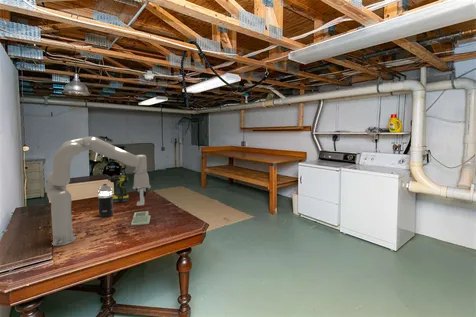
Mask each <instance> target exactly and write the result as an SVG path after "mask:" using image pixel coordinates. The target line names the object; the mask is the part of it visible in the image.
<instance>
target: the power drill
mask: <svg viewBox="0 0 476 317" xmlns="http://www.w3.org/2000/svg"><path fill="white" fill-rule="evenodd" d="M107 180H108V182H109V181H110V183H113V184H114V185H115V187H116V188H119V194H113V204H120V203H124V204H125V203H128V202H129V200H130V197H129V194H127V189H126V187H125V184H127V183H128V182H129V175H125V174H120V175H112V176H110V177H109V178H107Z"/></svg>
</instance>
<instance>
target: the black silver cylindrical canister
mask: <svg viewBox="0 0 476 317" xmlns="http://www.w3.org/2000/svg"><path fill="white" fill-rule="evenodd" d="M113 195H114V193H113V188H112V187H111V186H110V185H108V184H106V183H104V184H101V186H100V187H99V188H98V189H97V200H98V203H97V204H98V216H99V217H101V218H108V217H112V216H113V215H114V203H113Z"/></svg>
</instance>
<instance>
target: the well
mask: <svg viewBox="0 0 476 317" xmlns="http://www.w3.org/2000/svg"><path fill="white" fill-rule="evenodd" d="M150 220H151V215H149V211H148V210H147V211H136V212H135V211H134V214H133V216H132V219H131V223H130V226H140V225H149V224H150Z"/></svg>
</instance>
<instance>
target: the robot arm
mask: <svg viewBox="0 0 476 317" xmlns="http://www.w3.org/2000/svg"><path fill="white" fill-rule="evenodd" d="M89 150H90V151H92V152H95V153H97V154H99V155H101V156H104V157H106V158H109V159H112V160H116V161H119V162H121V163H123V164H124V165H125V166H128V167H132V168H134V167H135V169H134V170H133V173H135V174H134V175H133V176H134V177H133V185H132V189H133V190H135V191H137V196H138V197H139V198H140V188H144V198H145V197H146V196H147V191H148V190H149V189H151V188H152V186H151V184H150V178H149V174H148V170H147V168H148V166H147V155H146V154H137V155H135V154H133V153H131V152H129V151H126V150H124V149H122V148H120V147H118V146H115V145H113V144H111V143H109V142H108V141H105V140H102V139H100V138H98V137H96V136H84V137H82V138H76V139H71V140H67V141H65V142H63V143H62V145H61V146H60V147H59V149H57V151H56V152H55V154H54V156H53V160H52V168H51V169H52V170H51V171H50V172H49V173H48V175H47V182H46V196H47V199H48V200H49V201H50V202H51V203H50V206H51V207H50V208H51V209H50V211H51V212H50V214H51V224H52V226H51V227H52V238H53V239H52V240H53V243H52V245H53V247H59V246H65V245H69V244H71V243H74V242H75V241H76V240H77V236H75V235H74V234H73V233H74V232H73V217H72V216H73V215H72V194H71V193H70V192H69V190H68V189H67V186H68V185H69V183H70V182H71V164H72V160H73V159H74V158H75V157H76V156H78V155H80V154H81V153H82V152H85V151H89ZM52 245H51V246H52Z"/></svg>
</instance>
